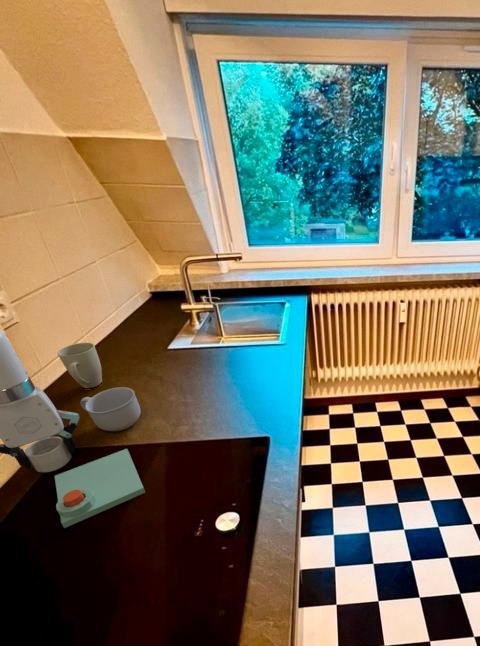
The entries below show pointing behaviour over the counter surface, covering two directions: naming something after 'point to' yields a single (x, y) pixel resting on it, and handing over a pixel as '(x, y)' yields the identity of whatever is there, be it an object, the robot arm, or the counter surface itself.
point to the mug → (82, 363)
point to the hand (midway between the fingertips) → (51, 457)
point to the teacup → (113, 408)
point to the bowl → (48, 454)
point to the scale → (98, 486)
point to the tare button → (73, 498)
